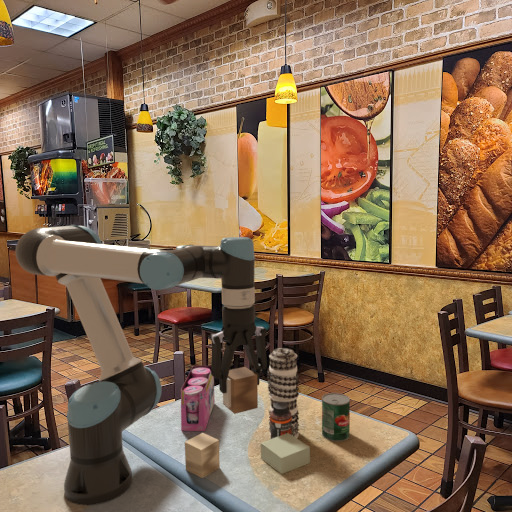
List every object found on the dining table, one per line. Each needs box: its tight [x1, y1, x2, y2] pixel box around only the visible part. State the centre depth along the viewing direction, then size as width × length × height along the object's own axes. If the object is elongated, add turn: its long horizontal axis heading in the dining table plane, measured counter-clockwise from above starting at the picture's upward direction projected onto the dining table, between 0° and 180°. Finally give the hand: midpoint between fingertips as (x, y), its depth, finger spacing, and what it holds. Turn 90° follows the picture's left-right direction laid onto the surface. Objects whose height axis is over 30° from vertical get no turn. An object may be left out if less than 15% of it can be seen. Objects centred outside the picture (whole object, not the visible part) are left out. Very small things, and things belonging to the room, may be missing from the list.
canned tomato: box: [321, 392, 351, 442], centre depth 133 cm, size 8×8×11 cm
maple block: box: [184, 432, 221, 479], centre depth 116 cm, size 6×6×8 cm
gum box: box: [180, 365, 215, 432], centre depth 146 cm, size 22×7×13 cm, turn 177°
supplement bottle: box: [269, 402, 292, 439], centre depth 127 cm, size 6×6×11 cm
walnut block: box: [224, 366, 259, 415], centre depth 108 cm, size 6×6×8 cm
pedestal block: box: [260, 433, 311, 475], centre depth 119 cm, size 9×9×5 cm
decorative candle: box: [266, 347, 300, 439], centre depth 132 cm, size 9×9×25 cm
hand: (240, 401), depth 108 cm, fingers closed on walnut block, 6 cm apart
